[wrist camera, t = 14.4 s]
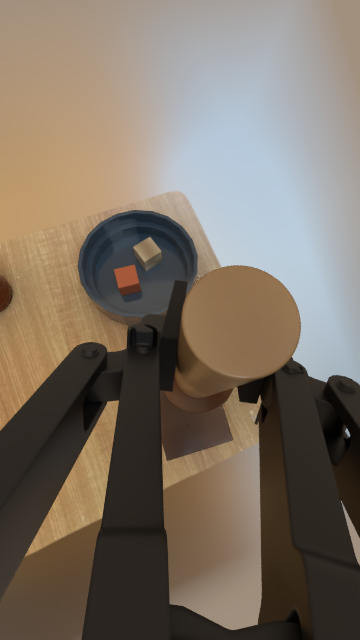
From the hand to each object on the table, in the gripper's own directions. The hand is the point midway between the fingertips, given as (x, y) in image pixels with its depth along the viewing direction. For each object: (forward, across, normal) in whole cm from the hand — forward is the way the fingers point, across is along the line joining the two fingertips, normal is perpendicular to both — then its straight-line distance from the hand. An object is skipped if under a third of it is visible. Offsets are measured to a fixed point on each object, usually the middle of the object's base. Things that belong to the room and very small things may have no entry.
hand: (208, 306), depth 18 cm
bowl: (+34, -10, -11) cm, 37 cm away
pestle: (+1, 0, -6) cm, 6 cm away
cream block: (+35, -9, -9) cm, 38 cm away
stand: (+18, +1, -27) cm, 33 cm away
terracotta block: (+32, -12, -12) cm, 36 cm away
